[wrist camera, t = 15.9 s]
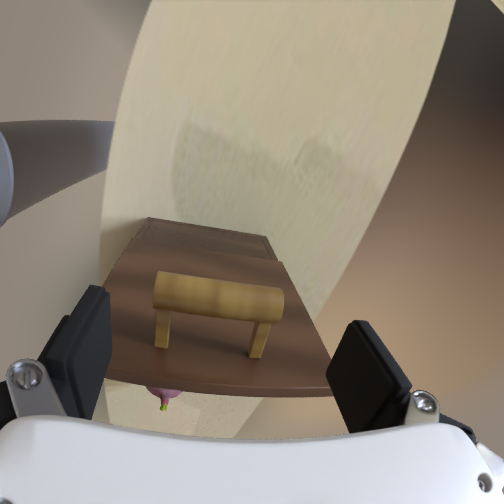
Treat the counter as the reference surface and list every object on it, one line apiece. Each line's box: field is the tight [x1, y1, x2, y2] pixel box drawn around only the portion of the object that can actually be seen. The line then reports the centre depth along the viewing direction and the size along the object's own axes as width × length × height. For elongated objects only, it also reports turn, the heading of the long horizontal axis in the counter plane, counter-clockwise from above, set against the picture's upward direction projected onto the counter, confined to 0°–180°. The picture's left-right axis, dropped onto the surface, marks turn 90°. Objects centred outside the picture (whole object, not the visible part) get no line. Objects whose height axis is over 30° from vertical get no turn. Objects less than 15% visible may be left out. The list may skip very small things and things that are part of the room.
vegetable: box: [146, 386, 182, 411], centre depth 39 cm, size 6×6×10 cm
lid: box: [102, 239, 334, 397], centre depth 20 cm, size 16×15×5 cm
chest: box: [134, 217, 278, 261], centre depth 35 cm, size 16×15×8 cm
